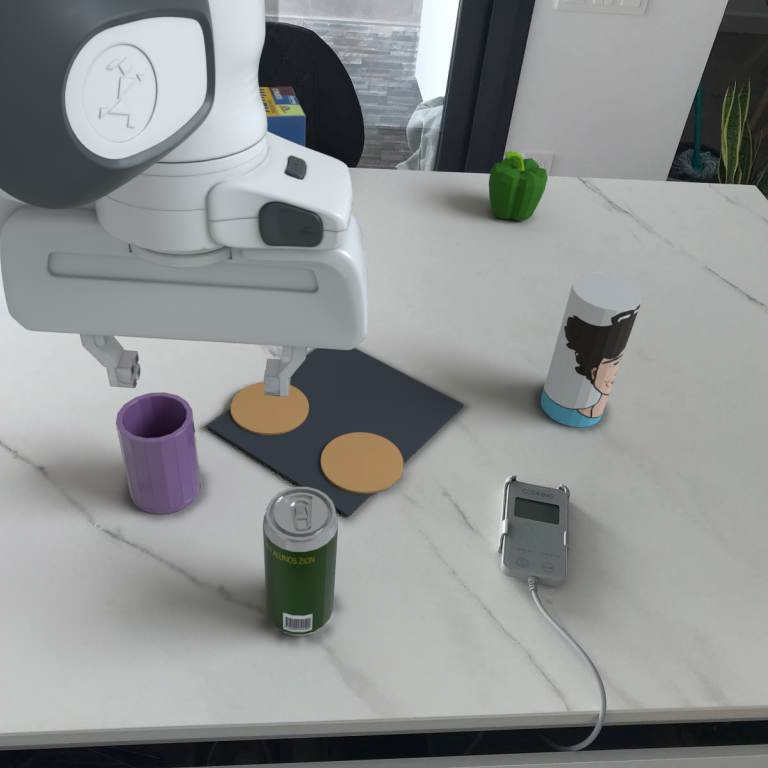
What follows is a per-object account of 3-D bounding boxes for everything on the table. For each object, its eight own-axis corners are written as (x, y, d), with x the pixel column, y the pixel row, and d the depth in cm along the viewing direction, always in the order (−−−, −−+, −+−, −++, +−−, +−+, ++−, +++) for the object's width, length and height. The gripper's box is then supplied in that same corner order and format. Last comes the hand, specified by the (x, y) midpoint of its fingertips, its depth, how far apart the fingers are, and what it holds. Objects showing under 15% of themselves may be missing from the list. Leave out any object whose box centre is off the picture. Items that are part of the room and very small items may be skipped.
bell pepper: (538, 205, 121) (551, 144, 115) (538, 230, 115) (553, 166, 109) (484, 198, 122) (495, 136, 115) (482, 222, 115) (493, 158, 109)
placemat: (356, 523, 70) (356, 518, 69) (199, 423, 78) (199, 418, 78) (471, 411, 83) (472, 406, 82) (326, 335, 91) (326, 331, 90)
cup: (588, 436, 81) (628, 319, 71) (530, 409, 84) (561, 292, 74) (611, 403, 85) (652, 288, 76) (555, 378, 88) (588, 264, 78)
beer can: (337, 635, 61) (344, 538, 53) (268, 644, 60) (265, 546, 52) (328, 578, 65) (333, 481, 57) (263, 586, 64) (260, 487, 56)
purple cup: (162, 525, 68) (150, 453, 62) (116, 491, 70) (100, 418, 65) (214, 485, 72) (207, 413, 66) (168, 454, 74) (158, 382, 69)
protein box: (191, 192, 116) (181, 87, 106) (293, 187, 120) (293, 85, 110) (197, 226, 108) (187, 116, 98) (306, 219, 112) (307, 113, 102)
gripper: (-52, 194, 37) (15, 410, 46) (377, 223, 38) (361, 429, 47) (-2, 140, 42) (50, 345, 51) (378, 168, 43) (363, 363, 52)
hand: (202, 385), depth 49 cm, fingers open, 8 cm apart
